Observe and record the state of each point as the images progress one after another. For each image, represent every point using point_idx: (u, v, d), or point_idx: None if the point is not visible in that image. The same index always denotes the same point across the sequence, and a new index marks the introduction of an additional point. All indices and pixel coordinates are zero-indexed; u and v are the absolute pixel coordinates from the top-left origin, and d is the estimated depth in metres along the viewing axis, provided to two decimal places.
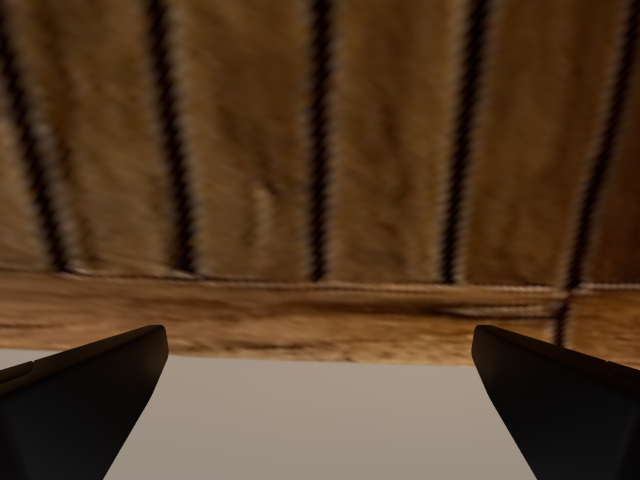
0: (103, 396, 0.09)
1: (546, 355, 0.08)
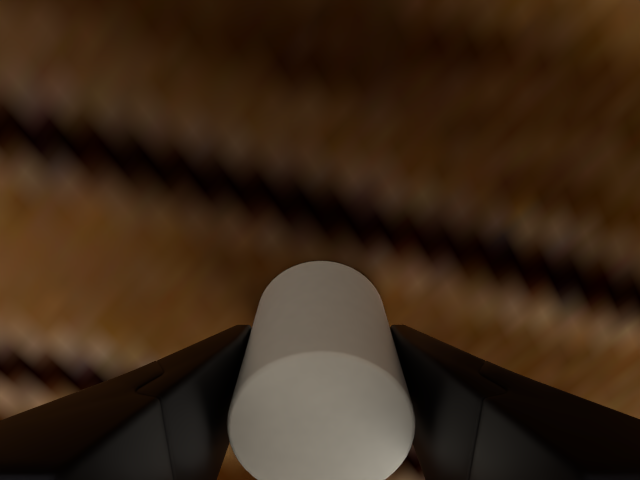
0: (218, 396, 0.09)
1: (430, 355, 0.08)
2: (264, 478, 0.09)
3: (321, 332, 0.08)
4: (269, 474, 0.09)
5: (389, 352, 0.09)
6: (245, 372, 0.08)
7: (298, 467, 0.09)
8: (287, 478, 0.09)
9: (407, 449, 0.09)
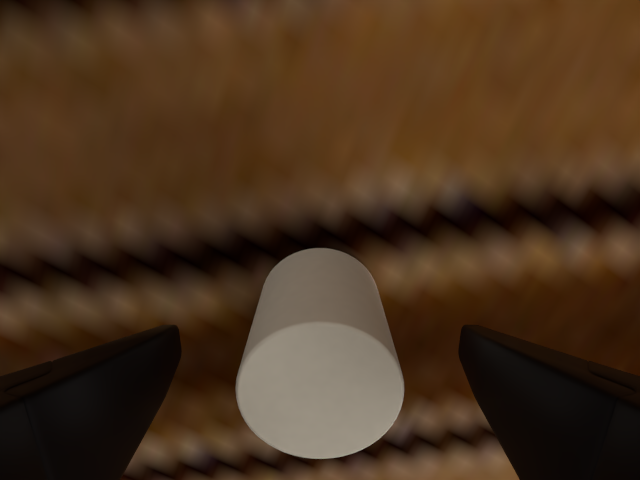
0: (121, 396, 0.09)
1: (528, 355, 0.08)
2: (269, 439, 0.10)
3: (320, 306, 0.09)
4: (273, 435, 0.10)
5: (381, 326, 0.10)
6: (252, 342, 0.09)
7: (299, 428, 0.10)
8: (289, 439, 0.10)
9: (397, 412, 0.10)
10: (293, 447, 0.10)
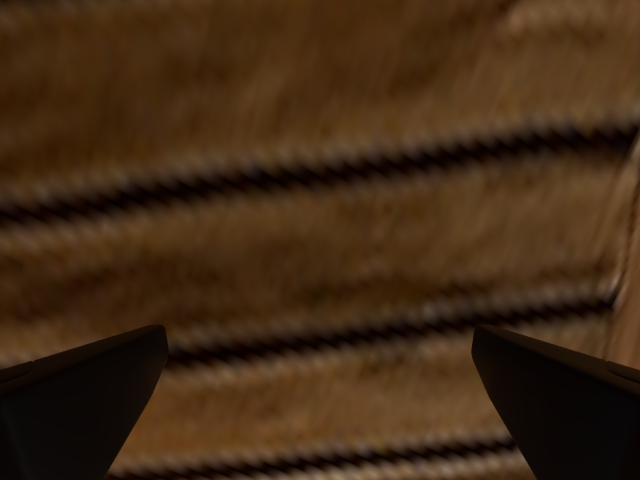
0: (103, 396, 0.09)
1: (546, 355, 0.08)
2: None
3: None
4: None
5: None
6: None
7: None
8: None
9: None
10: None
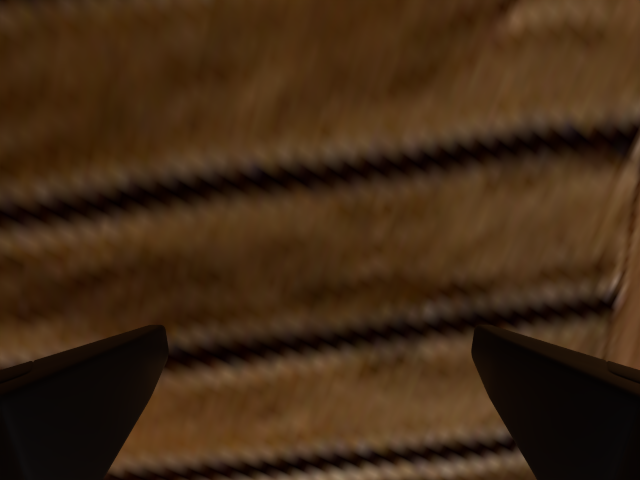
0: (103, 396, 0.09)
1: (546, 355, 0.08)
2: None
3: None
4: None
5: None
6: None
7: None
8: None
9: None
10: None
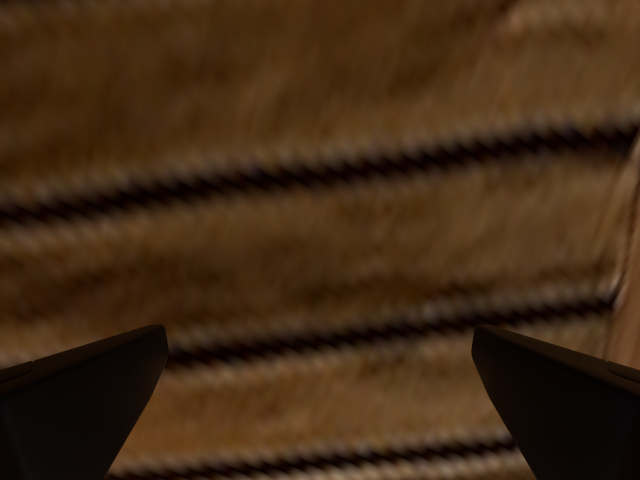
0: (103, 396, 0.09)
1: (546, 355, 0.08)
2: None
3: None
4: None
5: None
6: None
7: None
8: None
9: None
10: None
